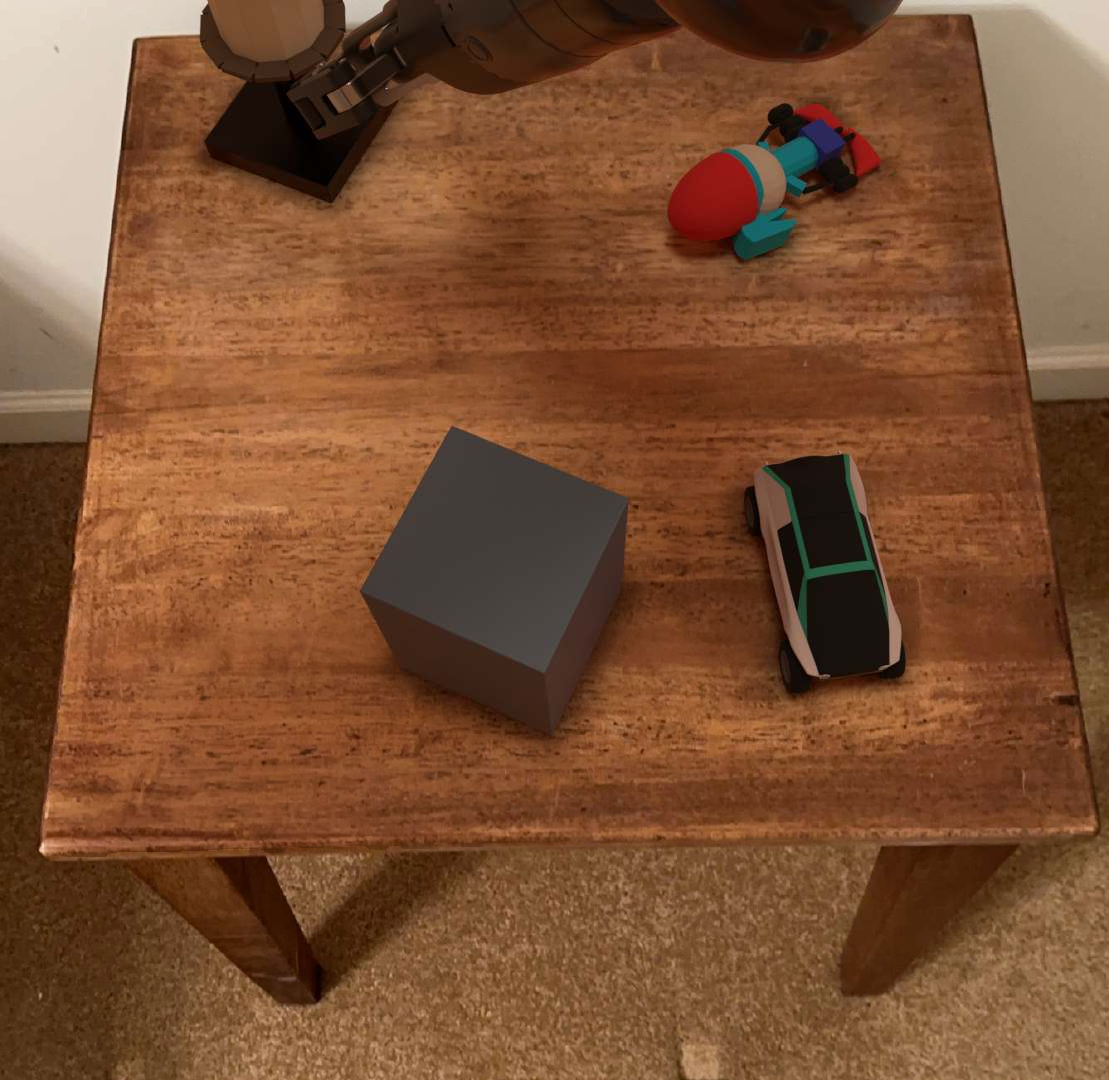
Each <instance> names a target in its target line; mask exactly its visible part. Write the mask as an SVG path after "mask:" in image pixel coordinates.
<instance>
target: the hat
mask: <svg viewBox="0 0 1109 1080" xmlns="http://www.w3.org/2000/svg"><path fill="white" fill-rule="evenodd" d="M206 1H207V3H206V5H205V6H204V8H203V9H202V10H201V13H202V14H200V16H199V17H200V18H199V42H200V45H201V48H202V50H203V51H204V52H205V54H206V56H208V58H209V59H210V60H211V61H212V63H213V64H214V66H215V68H217V69H218V70H221V72H222V73H224V74H226V75H229V76H232V77H235V78H237V79H240V80H243V81H245V82H246V81H248V82H251V83H252V82H253V81H254V79H255V81H256V83H266V82H277V81H289V80H291V74H292V76H293V77H294V78H295V79H296V78H298V77H300V76H302V75H304V74H306V73H307V72H309V71H311V70H313V69H315V68H317V67H316V66H317V65H318V64H319V63H321V62H322V61H324V59H325V60H328V61H329V60H330V59H331V57H332V56H333V54H334V53H335V51H336V50H337V48H338V47H339V45H340V44H341V43H342V41H343V39H344V38H345V37H346V36H345V33H346V32H347V23H346V21H347V19H346V5H345V2H344V0H206Z"/></svg>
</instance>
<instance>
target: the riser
mask: <svg viewBox="0 0 1109 1080" xmlns="http://www.w3.org/2000/svg"><path fill="white" fill-rule="evenodd" d="M416 487H417V488H416V489H415V490H414V492H413V494H412V496H411V497H410V499H409V502H408V503H407V505H406V506H405V509H404V510H403V512H402V514H401V515H400V518H398V521H397V523H396V525H395V526H394V528H393V530H392V531H391V533H390V536H389V537H388V539H387V541H386V543H385V544H384V546H383V548H382V550H381V552H380V553H379V555H378V557H377V559H376V561H375V562H374V564H373V566H372V568H371V570H370V571H369V573H368V575H367V577H366V578H365V580H364V582H363V584H362V586H361V588H360V590H359V593H360V595H361V597H362V598H363V601H364V602H365V605H366V606H367V608H368V610H369V612H370V614H371V616H372V617H373V619H374V621H375V624H376V625H377V627H378V630H380V632H381V634H382V636H383V638H384V640H385V641H386V644H387V646H388V647H389V650H390V651H391V653H392V655H393V657H394V659H395V660H396V663H397V664H398V667H400V669H403V670H405V671H407V672H410V673H412V674H414V675H416V676H418V677H421V678H423V679H425V680H427V681H429V682H431V683H434V684H436V685H438V686H440V687H443V688H445V689H447V690H449V691H451V692H453V693H455V694H458V695H460V696H462V697H464V698H466V699H469V700H471V701H473V702H476V703H478V704H480V705H482V706H484V707H485V708H488V709H491V710H493V711H495V712H497V713H500V714H502V715H504V716H506V717H508V718H510V719H513V720H515V721H516V722H519V723H521V724H524V725H526V726H528V727H530V728H532V729H534V730H537V731H539V732H541V733H542V734H543V733H544V734H546V735H548V736H549V737H553V736H554V734H555V732H556V730H557V727H558V726H559V724H560V721H561V719H562V717H563V715H564V712H565V710H566V709H567V707H568V704H569V702H570V700H571V698H572V696H573V694H574V692H575V689H576V687H577V685H578V683H579V681H580V679H581V677H582V675H583V672H584V670H585V668H586V666H587V664H588V662H589V660H590V657H591V655H592V654H593V651H594V649H595V647H596V644H597V643H598V640H599V638H600V636H601V634H602V633H603V630H604V627H605V626H606V623H607V621H608V620H609V617H610V615H611V614H612V611H613V609H614V606H615V604H616V602H617V600H618V598H619V596H620V594H621V592H622V590H623V578H624V566H625V555H626V554H625V553H626V542H627V529H628V528H627V527H628V515H629V503H630V501H629V500H630V498H629V497H627V496H624V495H622V494H620V493H617V492H615V491H612V490H610V489H608V488H605V487H602V486H600V485H597V484H595V483H593V482H590V481H588V480H586V479H583V478H581V477H578V476H576V475H573V474H571V473H569V472H567V471H564V470H561V469H558V468H556V467H554V466H551V465H549V464H546V463H545V462H542V461H539V460H537V459H534V458H532V457H529V456H527V455H524V454H522V453H520V452H517V451H516V450H513V449H510V448H508V447H505V446H503V445H500V444H498V443H495V442H493V441H490V440H488V439H485V438H483V437H480V436H478V435H476V434H474V433H471V432H469V431H466V430H464V429H461V428H459V427H456V426H454V425H451V426H450V427H449V429H448V431H447V433H446V434H445V437H444V438H443V440H442V442H441V444H440V446H439V448H438V449H437V451H436V452H435V455H434V456H433V458H432V460H431V462H430V463H429V465H428V467H427V469H426V471H425V473H424V474H423V476H422V478H421V480H420V481H419V483H418V485H417V486H416Z"/></svg>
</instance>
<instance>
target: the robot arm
mask: <svg viewBox="0 0 1109 1080" xmlns="http://www.w3.org/2000/svg"><path fill="white" fill-rule="evenodd" d="M903 1H904V0H388V1H386V2H385V3H384V5H383V7H382V10H381V11H380V12H378V13H376V15H374V16H372V17H370V19H368V20H366V21H365V22H363V23H362V24H360V25H359V26H357V27H356V28H354V30H352V31H351V32H350V33H349V34H347V36H344V38H343V39H342V41H341V42H340V44H341V45H340V46H341V48H340V49H341V52H340V53H338V54H337V55H335V56H334V57H332V58H330V59H329V60H328V62H325V60H326V59H325V60H324V61H322V62H321V63H319V64H318V65H317V66H316V67H317V68H316V69H314V70H312V71H310V72H309V73H307V74H306V75H305V76H303V77H302V78H301V79H300V80H299V81H297V82H295V83H294V84H293V85H291V86H290V87H291V88H292V89H291V90H290V91H289V92H288V93H287V96H288V97H289V99H290V100H291V101H292V103H293V102H294V104H295V105H296V107H297V108H298V110H299V111H300V113H301V114H302V115H303V117H304V118H305V120H306V121H307V123H308V124H309V125H310V127H311V128H312V130H313V133H314V134H315V136H316V137H317V139H318V140H320V139H323V138H325V137H326V138H328V137H330V136H331V135H333V134H336V133H339V132H341V131H344V130H347V129H349V128H352V127H354V126H357V125H360V124H362V123H363V122H365V123H368V122H370V121H371V120H373V119H374V118H375V114H376V113H377V112H378V111H379V110H380V108H379V107H378V105H377V104H376V103H378V104H379V105H381V106H388V105H390V104H392V103H393V102H395V101H397V100H398V101H399V100H400V99H402V98H403V97H405V96H406V95H409V94H410V93H412V92H413V91H414V90H417V89H418V88H420V87H422V86H423V85H425V84H430V85H436V84H437V83H439V82H443V83H444V84H446V85H448V86H450V87H452V88H454V89H456V90H459V91H462V92H465V93H469V94H473V95H481V96H492V95H500V94H503V93H507V92H510V91H513V90H516V89H520V88H524V87H527V86H530V85H534V84H537V83H540V82H545V81H547V80H550V79H553V78H557V77H560V76H564V75H566V74H570V73H573V72H576V71H579V70H581V69H583V68H586V67H589V66H591V65H593V64H595V63H596V62H597V61H599V60H601V59H602V58H604V57H606V56H607V55H609V54H611V53H614V52H618V51H621V50H623V49H624V50H625V49H627V48H630V47H634V46H637V45H639V44H643V43H648V42H650V41H653V40H656V39H660V38H663V37H666V36H668V35H671V34H674V33H675V32H678V31H680V30H682V29H686V30H687V31H689V32H690V33H691V34H694V35H695V36H696V37H698V38H699V39H701V40H703V41H705V42H707V43H709V44H710V45H713V46H715V47H716V48H717V47H718V48H719V49H721V50H723V51H725V52H727V53H731V54H733V55H736V56H740V57H742V58H746V59H749V60H754V61H759V62H763V63H770V64H771V63H772V64H782V65H783V64H786V65H787V64H789V65H793V64H808V63H814V62H819V61H823V60H828V59H831V58H833V57H834V58H835V57H837V56H839V55H840V56H841V55H842V54H844V53H847V52H848V51H851V50H853V49H854V48H856V47H858V46H860V45H861V44H863V43H865V41H867V40H868V39H869V38H871V37H872V36H873V35H875V34H876V33H877V32H879V31H880V30H881V29H882V28H883V27H884V26H885V24H887V22H888V21H889V20H890V19H891V18H892V17H893V16H894V15H895V14H896V12H897V11H898V9H899V7H900V6H901V4H902V3H903ZM381 29H383V30H381ZM380 30H381V32H380V34H379V35H378V36H377V37H376V39H375V41H374V43H373V44H372V40H371V36H373V35H374V34H375V33H377V32H378V31H380ZM355 70H356V72H355Z"/></svg>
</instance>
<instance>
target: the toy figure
mask: <svg viewBox="0 0 1109 1080" xmlns="http://www.w3.org/2000/svg"><path fill="white" fill-rule="evenodd" d="M766 117H767V122H768V123H769V125H767V127H766V128H765V130H764V131H763V133H762V134H761V135H760V137H759V138H758V140H757V141H756V143H755V144H748V143H741V144H737V145H734V146H731V147H729V148H723V149H721V150H720V151H716V152H714V153H712V154H710V155H708V156H706V157H705V158H703V159H702V160H700V161H699V162H697V163H696V164H694V166H692V167H691V168H690V169H689V170H688V171H687V172H686V173H685V174H684V175H683V176H682V177H681V178H680V179H679V181H678V183H677V184H676V186H675V187H674V188H673V191H672V192H671V195H670V198H669V201H668V203H667V218H668V223H669V224H670V225H671V228H672V229H673V230H674V231H675V232H676V233H677V234H678V235H679V236H681V237H683V238H686V239H689V240H692V241H699V242H704V241H705V242H706V241H718V240H723V239H726V238H729V237H732V242H733V250H734V251H735V253H736V255H737V256H738V257H739V258H741V259H743V260H744V261H746V260H750V259H752V258H755V257H757V256H760V255H762V254H765V253H768V252H770V251H772V250H775V249H777V248H780V247H783V246H784V245H785V244H786V242H787V241H788V239H789V237H790V236H791V233H792V232H793V229H794V227H795V226H796V224H797V222H798V221H799V218H795V219H784V216H785V215H786V212H787V210H788V207H780V206H781V205H782V202H783V201H784V199H785V195H786V192H788V193H790V194H791V195H793V196H795V197H797V198H800V197H801V195H807V194H811V193H813V192H816V191H819V190H822V189H824V188H827V187H829V186H831V185H832V190H833V192H834V193H836V194H843V193H846V192H848V191H850V190H851V189H854V188H856V186H858V184H859V180H860V179H859V177H860V176H862V175H864V174H866V173H869V172H870V171H872V170H873V169H875V168H877V167H878V166H880V164H881V165H882V162H883V161H882V159H881V158H880V156H879V154H878V153H877V151H876V150H875V149H874V148H873V146H871V144H870V143H869V142H868V141H867V140H866V138H864V136H863V135H861V134H860V133H859V132H858V131H856V130H855V129H854V128H853V127H848V128H845V127H844V125H843V123H841V121H840V120H839V119H838V118H837V117H836V116H835V115H834V114H833V113H832V112H831V111H830V110H829V109H828V108H827V107H825V106H824V105H822V104H820V103H812V104H808V105H805V106H803V107H800V108H797V109H795V110H794V107H793V106H792V105H791V104H790V103H786V102H784V103H780V104H779V105H776V106H774V107H772V108H771V109H770V110H769V111H768V113H767V116H766ZM806 121H808V122H809V123H808V124H807V125H806ZM777 128H778V130H779V133H780V135H781V136H782V137H783V139H784V143H785V144H782V145H781V146H779V147H777V148H775V149H772V150H771V148H770V145H769V142H768V141H765V140H766V139H767V137H768V136H769V135H770V134H771V132H772V131H773V130H776V129H777ZM847 143H848V144H849V147H850V151H851V154H852V155H851V156H852V158H853V162H854V165H855V170H856V172H855V173H851V168H850V167H849V165H847V164H844V161H843V159H842V158H841V157H840V155H841V154H842V152H843V151H844V148H845V146H846V144H847ZM814 169H816V170H817V173H818V175H819V176H820V177H822V178H824V180H825V182H824V181H820V182H817V183H814V184H811V185H808V183H807V182H805V181H804V180H802V179H800V177H801V176H803V175H805V174H807V173H808V172H810V171H812V170H814ZM807 185H808V186H807Z"/></svg>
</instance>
